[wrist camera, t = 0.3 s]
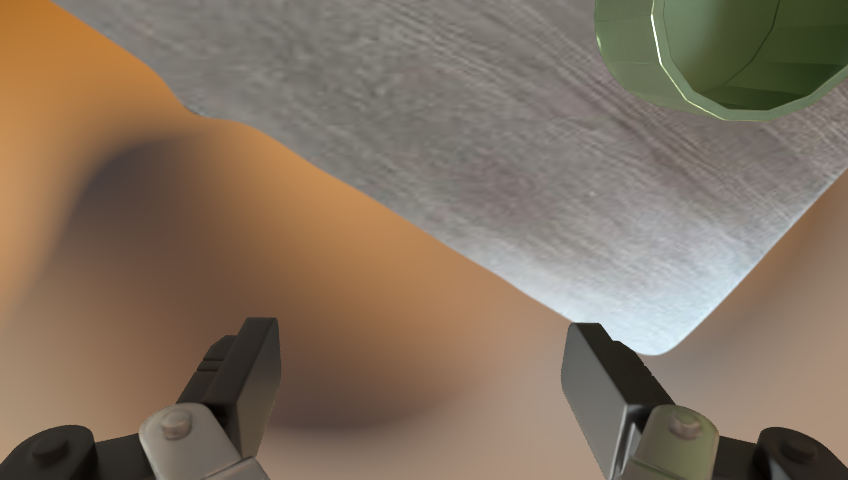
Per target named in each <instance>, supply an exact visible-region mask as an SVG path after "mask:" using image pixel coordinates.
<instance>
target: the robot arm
mask: <svg viewBox="0 0 848 480" xmlns="http://www.w3.org/2000/svg"><path fill="white" fill-rule="evenodd" d="M280 379H281V360H280V344H279V328H278V321H277V319H276V318H264V317H248V318H247V319H246V320H245V322H244V324H243V326H242V328H241V329H240V331H239V333H238V335H237V336H232V335H231V336H230V335H228V336H227V335H226V336H224V337H223V338H222V339H220V340H219V341H218V342H216V343H215V344H213V345H212V346H211V347H210V349H209V350H208V352H207V353H206V355H205V357H204V358H203V361H202V362H201V363H200V365H199V366H198V368H197V372H195V373H194V374H193V376H192V378H191V379H190V381H189V383H188V384H187V386H186V387H185V389H184V391H183V392H182V394H181V396H180V397H179V399H178V401H177V402H176V404H175V405H171V406H168V407H165V408H163V409H161V410H159V411H157V412H155V413H154V414H152V415H151V416H150V417H149V418H147V419H146V420H145V422H144V423H143V424H142V426H141V427H140V430H139V433H136V434H133V435H129V436H125V437H120V438H115V439H110V440H106V441H101V442H97V443H95V442H94V437H93V434H92V432H91V431H90V430H89V429H87V428H86V427H83V426H79V425H65V426H59V427H54V428H51V429H48V430H45V431H42V432H40V433H37V434H35V435H33V436H32V437H30V438H28V439H26V440H25V441H23V442H22V443H21V444H19V445H18V446H17V447H16V448H15V449H14V450H13V451H12V452H11V453H10V454H9V455H8V457H7V458H6V459H5V460H4V461H3V462H2V463H1V464H0V480H270V478H269V477H268V475H267V474H266V473H265V471H264V470H263V468H262V467H261V465H260V464H259V463H258V461H257V460H256V459H255V457H256V455H257V452H258V448H259V446H260V443H261V440H262V437H263V434H264V431H265V429H266V426H267V423H268V420H269V417H270V414H271V411H272V408H273V405H274V402H275V399H276V396H277V394H278V390H279V386H280ZM561 383H562V389H563V392H564V394H565V397H566V399H567V401H568V403H569V404H570V407H571V409H572V411H573V413H574V415H575V417H576V419H577V421H578V423H579V425H580V427H581V430H582V432H583V434H584V436H585V438H586V440H587V442H588V444H589V446H590V448H591V450H592V452H593V454H594V457H595V459H596V461H597V463H598V465H599V467H600V469H601V471H602V473H603V475H604V477H605V479H606V480H848V468H847V467H846V466H845V465H844V464H843V463H842V462H841V461H840V460H839V459H838V458H837V457H836V456H835V455H834V454H833V453H832V452H831V451H830V450H828V448H827V447H825V446H824V445H823V444H821V443H820V442H818V441H817V440H815V439H813V438H811V437H809V436H807V435H805V434H802V433H800V432H798V431H794V430H791V429H787V428H782V427H770V428H766V429H764V430H763V431H761V433H760V435H759V438H758V441H757V444H755V443H750V442H746V441H741V440H737V439H732V438H728V437H724V436H720V435H719V432H718V430H717V428H716V427H715V425H714V424H713V423H712V422H711V421H710V420H708V419H707V418H706V417H705V416H703V415H701V414H700V413H698V412H696V411H693V410H691V409H689V408H686V407H682V406H678V405H676V404H675V403H674V402H673V400H672V399H671V398H670V396H669V395H668V394H667V393H666V391H665V390H664V389H663V388H662V386H661V385H660V384H659V382H658V381H657V380H656V378H655V377H654V376H652V374H651V372H650V371H649V369H648V368H647V367H646V366H644V363H643V362H642V361H641V359H640V358H639V357H638V355H637V354H636V353H635V352H634V351H633V350H632V349H630V348H629V347H627V346H626V345H624V344H623V343H621V342H620V341H613V340H612V339H611V338H610V336H609V335H608V333H607V332H606V331H605V329H604V328H603V327H602V325H601V324H599V323H571V324H570V326H569V328H568V333H567V339H566V345H565V351H564V357H563V363H562V369H561Z"/></svg>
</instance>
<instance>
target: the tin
mask: <svg viewBox="0 0 848 480" xmlns="http://www.w3.org/2000/svg"><path fill="white" fill-rule="evenodd" d="M594 18H595V33H596V39H597V44H598V47H599V50H600V54H601V56H602V58H603V61H604V63H605V65H606V67H607V68H608V70H609V71H610V73H611V74H612V76H613V77H614V78H615V79H616V80H617V82H618V83H619V84H620V85H621V86H623V87H624V89H625V90H627V91H628V92H630V93H632V94H633V95H635V96H637V97H639V98H641V99H643V100H646V101H648V102H650V103H652V104H654V105H657V106H661V107H666V108H670V109H675V110H680V111H684V112H689V113H693V114H698V115H703V116H707V117H712V118H716V119H721V120H733V121H764V122H766V121H770V120H773V119H776V118H779V117H781V116H784V115H787V114H790V113H792V112H795V111H798V110H800V109H803V108H806V107H809V106H811V105H813V104H815V103H816V102H817V101H818V100H820V99H821V98H822V97H823V96H825V95H826V94H827V93H828V92H830V91H831V90H832V89H833V88H835V87H836V86H837V85H838V84H840V83H841V82H842V81H844V80H845V79H846V78H847V77H848V0H596V3H595V15H594Z"/></svg>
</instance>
